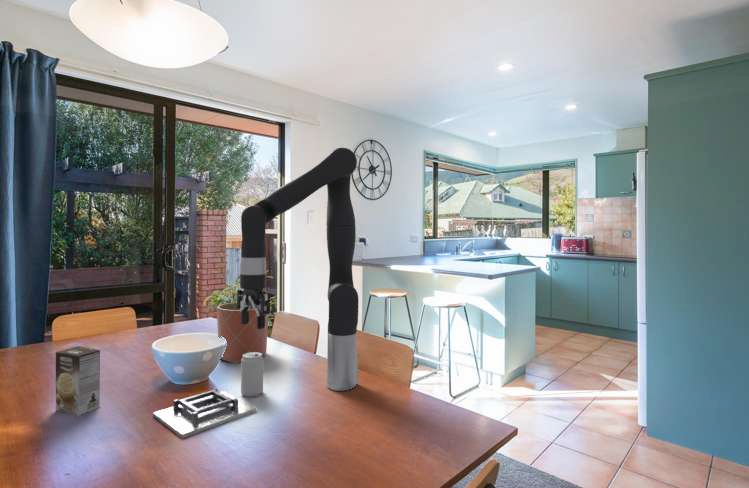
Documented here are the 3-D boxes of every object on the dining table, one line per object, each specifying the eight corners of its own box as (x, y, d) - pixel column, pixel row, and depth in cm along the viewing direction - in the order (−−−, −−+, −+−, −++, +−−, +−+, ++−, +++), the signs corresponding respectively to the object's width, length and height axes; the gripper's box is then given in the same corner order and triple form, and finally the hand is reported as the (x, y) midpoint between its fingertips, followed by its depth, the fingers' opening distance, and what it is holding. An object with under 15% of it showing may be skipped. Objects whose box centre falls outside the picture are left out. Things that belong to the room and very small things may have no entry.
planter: (252, 346, 174) (252, 299, 174) (277, 356, 161) (277, 306, 161) (208, 356, 161) (208, 305, 160) (231, 367, 147) (231, 312, 147)
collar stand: (224, 394, 123) (224, 381, 123) (256, 411, 112) (256, 397, 112) (153, 416, 108) (153, 402, 108) (182, 438, 97) (182, 422, 97)
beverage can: (256, 399, 121) (257, 358, 120) (236, 396, 122) (237, 356, 122) (266, 390, 127) (267, 352, 126) (247, 388, 128) (247, 350, 128)
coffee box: (54, 410, 111) (53, 351, 110) (78, 401, 117) (77, 345, 116) (78, 416, 108) (77, 355, 107) (101, 406, 114) (101, 349, 113)
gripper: (277, 273, 121) (277, 328, 122) (251, 269, 131) (250, 320, 131) (255, 275, 116) (255, 332, 116) (229, 271, 125) (228, 324, 126)
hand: (252, 326), depth 124 cm, fingers open, 8 cm apart
